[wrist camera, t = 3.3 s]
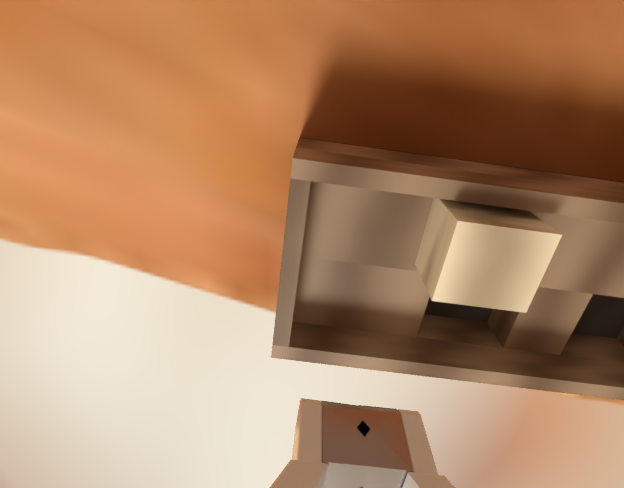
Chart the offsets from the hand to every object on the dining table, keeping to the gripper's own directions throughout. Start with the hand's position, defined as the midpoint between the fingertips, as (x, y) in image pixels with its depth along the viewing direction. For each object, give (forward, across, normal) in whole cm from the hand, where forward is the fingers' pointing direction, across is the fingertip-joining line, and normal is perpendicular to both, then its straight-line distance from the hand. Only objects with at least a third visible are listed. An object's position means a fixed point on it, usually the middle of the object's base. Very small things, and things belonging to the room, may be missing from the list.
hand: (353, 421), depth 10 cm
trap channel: (+16, -15, +2) cm, 22 cm away
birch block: (+14, -8, 0) cm, 16 cm away
